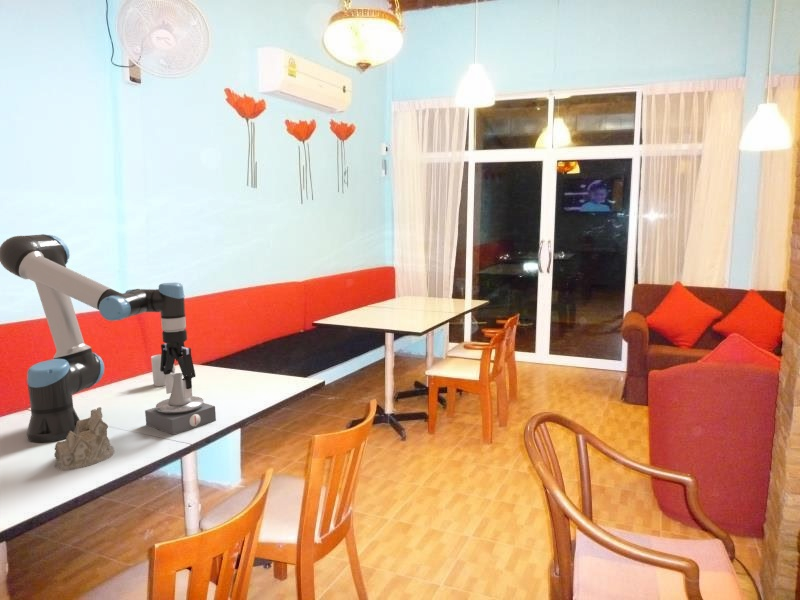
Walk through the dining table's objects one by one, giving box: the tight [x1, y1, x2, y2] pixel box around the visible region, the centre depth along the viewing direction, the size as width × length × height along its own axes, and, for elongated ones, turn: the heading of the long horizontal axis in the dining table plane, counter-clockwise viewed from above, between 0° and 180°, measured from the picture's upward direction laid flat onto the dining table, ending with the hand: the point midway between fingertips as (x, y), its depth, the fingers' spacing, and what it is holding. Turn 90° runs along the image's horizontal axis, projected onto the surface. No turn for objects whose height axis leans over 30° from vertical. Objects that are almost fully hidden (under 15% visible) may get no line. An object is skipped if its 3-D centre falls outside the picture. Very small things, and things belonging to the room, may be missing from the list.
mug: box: [150, 353, 176, 387], centre depth 241 cm, size 10×7×12 cm, turn 76°
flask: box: [168, 372, 191, 406], centre depth 194 cm, size 7×7×10 cm
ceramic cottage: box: [54, 406, 115, 471], centre depth 168 cm, size 16×16×15 cm
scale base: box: [144, 402, 217, 436], centre depth 196 cm, size 16×16×6 cm
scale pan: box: [155, 395, 205, 413], centre depth 195 cm, size 15×15×1 cm
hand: (179, 395), depth 195 cm, fingers open, 9 cm apart
